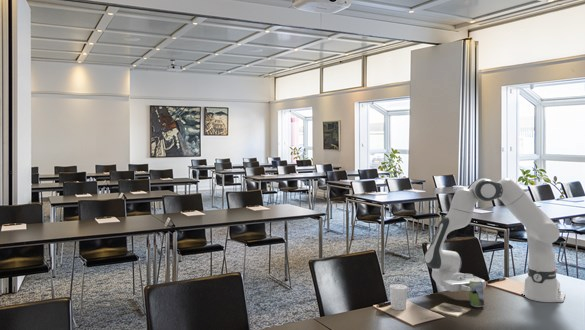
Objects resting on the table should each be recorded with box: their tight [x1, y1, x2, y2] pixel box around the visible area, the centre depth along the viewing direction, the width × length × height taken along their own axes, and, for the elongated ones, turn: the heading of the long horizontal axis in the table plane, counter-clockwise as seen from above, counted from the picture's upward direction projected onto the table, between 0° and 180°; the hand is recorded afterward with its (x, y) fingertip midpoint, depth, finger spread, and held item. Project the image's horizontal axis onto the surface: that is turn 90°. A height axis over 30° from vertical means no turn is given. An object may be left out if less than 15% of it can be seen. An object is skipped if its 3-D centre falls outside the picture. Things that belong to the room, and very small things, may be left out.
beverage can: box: [468, 280, 485, 308], centre depth 221 cm, size 6×7×12 cm
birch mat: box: [429, 302, 472, 318], centre depth 216 cm, size 13×13×1 cm
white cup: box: [389, 283, 408, 311], centre depth 220 cm, size 8×8×10 cm
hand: (475, 289), depth 219 cm, fingers open, 4 cm apart
